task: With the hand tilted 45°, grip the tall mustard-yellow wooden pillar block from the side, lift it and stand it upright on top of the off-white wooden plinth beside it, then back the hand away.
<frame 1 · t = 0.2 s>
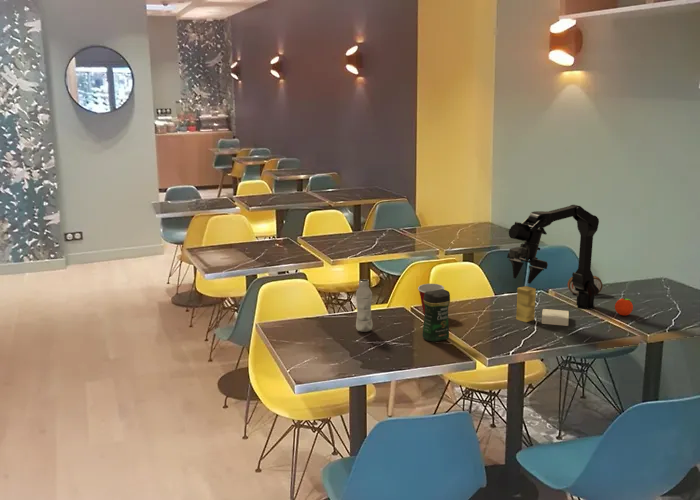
hand: (521, 280, 285), 15 cm above the table, tool tilted 15°, fingers open, 9 cm apart
plastic bottle: (364, 331, 274), on the table
pillar block: (525, 319, 286), on the table
plastic cup: (430, 315, 292), on the table
coffee jar: (435, 338, 265), on the table
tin: (584, 294, 321), on the table
plinth: (555, 320, 284), on the table
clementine: (624, 315, 290), on the table
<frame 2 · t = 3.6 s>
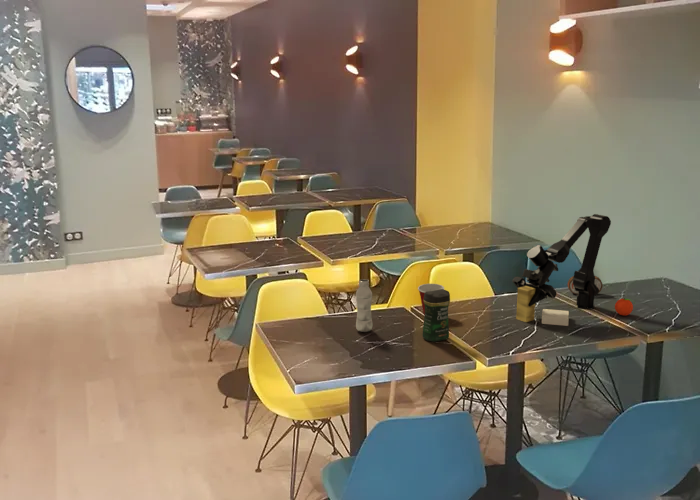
hand: (523, 304, 283), 7 cm above the table, tool tilted 45°, fingers closed on pillar block, 5 cm apart
pillar block: (525, 319, 286), on the table, touching gripper
everything else where it was.
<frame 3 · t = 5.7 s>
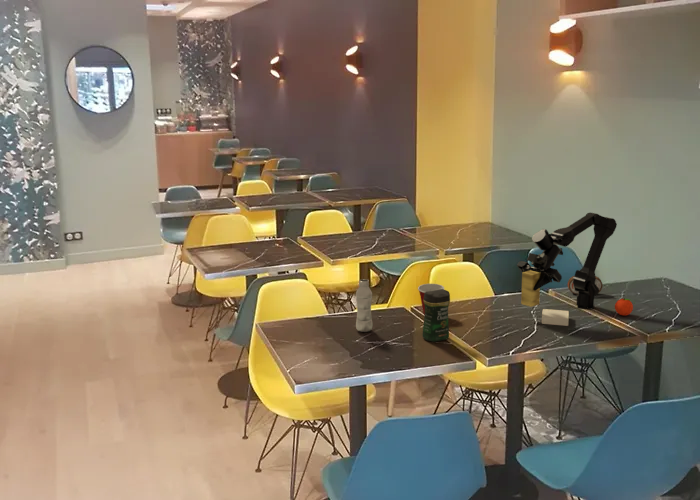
hand: (528, 288, 282), 13 cm above the table, tool tilted 45°, fingers closed on pillar block, 5 cm apart
pillar block: (530, 304, 284), point 6 cm above the table, touching gripper
everything else where it was.
when the fingers open (10 cm above the table, at t = 7.6 s): pillar block stays where it is, resting on plinth.
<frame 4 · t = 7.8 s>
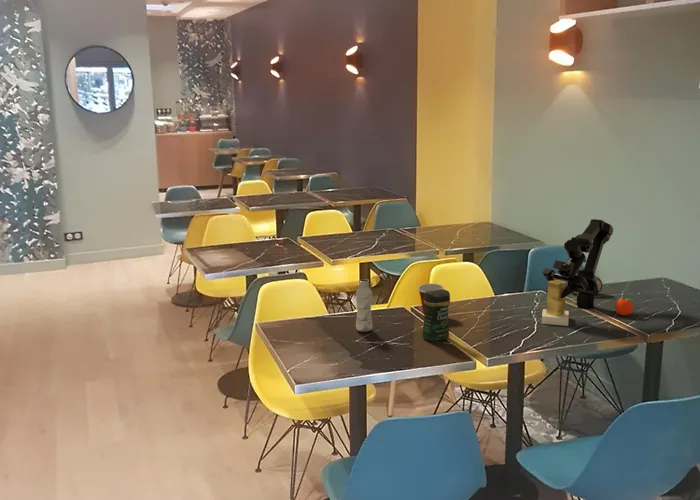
hand: (554, 295, 281), 11 cm above the table, tool tilted 45°, fingers open, 7 cm apart
pillar block: (555, 313, 283), point 3 cm above the table, touching plinth
everything else where it was.
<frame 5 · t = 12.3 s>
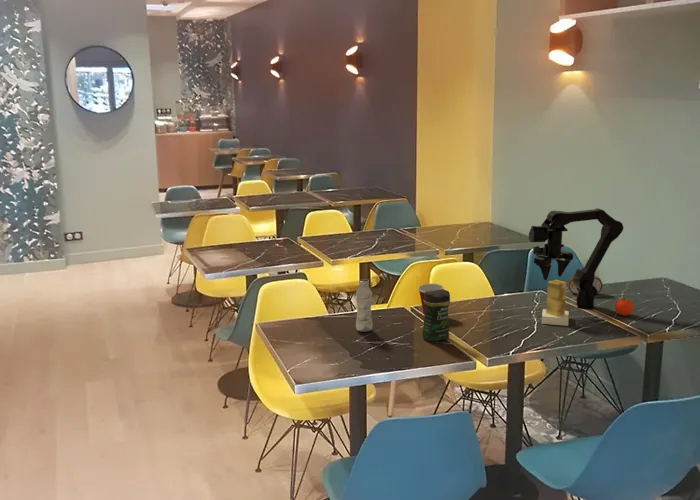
hand: (552, 278, 297), 13 cm above the table, tool pointing down, fingers open, 9 cm apart
nothing on the table moved.
at the end: pillar block inside the target area on the plinth (0.1 cm from its centre), point 3.0 cm above the plinth's base; pillar block tilted 0°; the gripper is holding nothing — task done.
